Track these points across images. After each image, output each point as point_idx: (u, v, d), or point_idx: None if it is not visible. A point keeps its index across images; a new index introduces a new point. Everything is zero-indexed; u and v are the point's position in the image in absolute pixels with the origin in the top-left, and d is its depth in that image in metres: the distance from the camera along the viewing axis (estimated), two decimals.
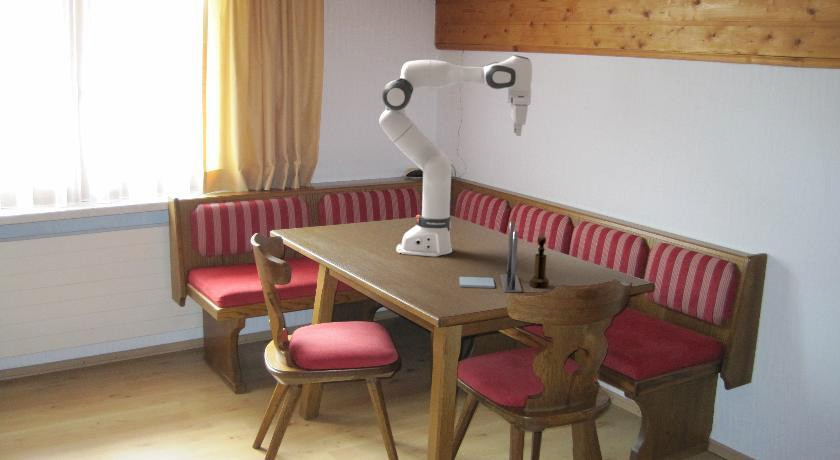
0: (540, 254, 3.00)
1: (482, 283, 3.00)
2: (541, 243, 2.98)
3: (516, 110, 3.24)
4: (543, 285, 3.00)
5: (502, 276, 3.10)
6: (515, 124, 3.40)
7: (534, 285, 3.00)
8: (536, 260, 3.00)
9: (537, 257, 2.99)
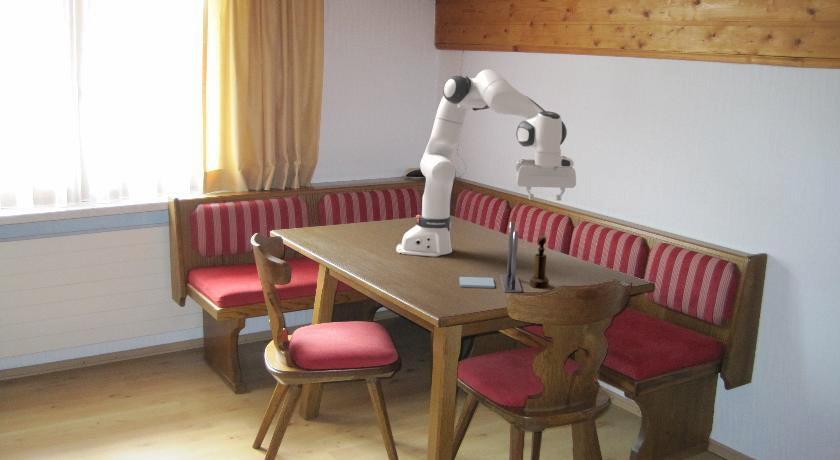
0: (540, 254, 3.00)
1: (482, 283, 3.00)
2: (541, 243, 2.98)
3: None
4: (543, 285, 3.00)
5: (502, 276, 3.10)
6: None
7: (534, 285, 3.00)
8: (536, 260, 3.00)
9: (537, 257, 2.99)
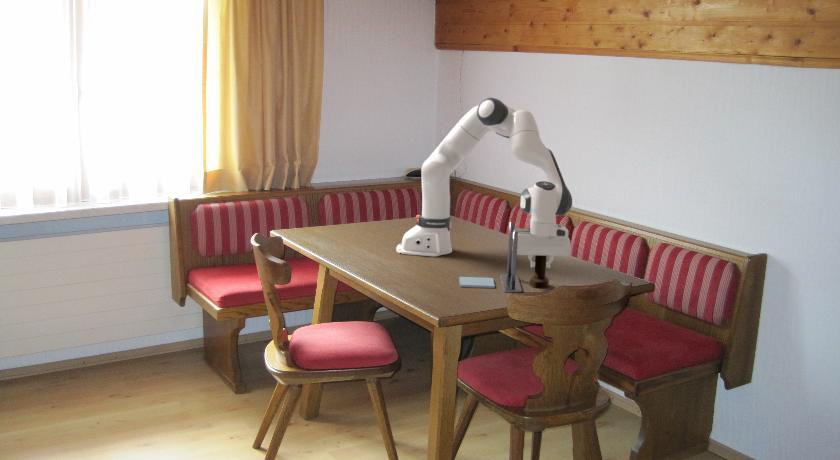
0: None
1: (482, 283, 3.00)
2: None
3: None
4: (543, 285, 3.00)
5: (502, 276, 3.10)
6: (530, 258, 3.00)
7: (534, 285, 3.00)
8: (536, 260, 3.00)
9: (537, 257, 2.99)
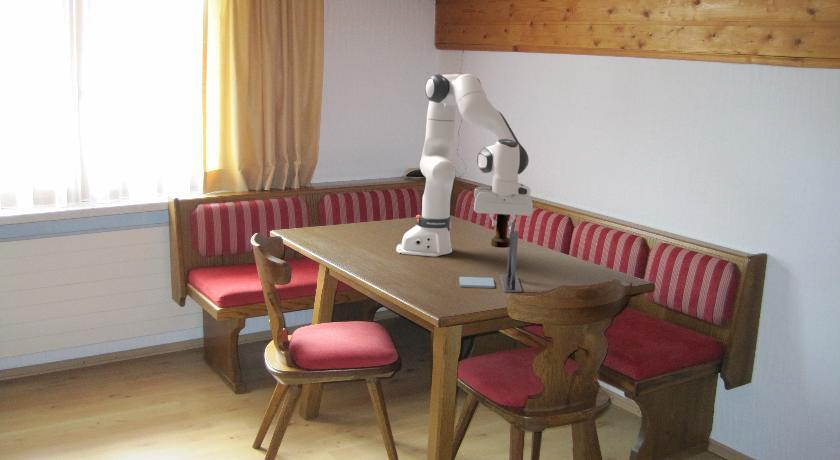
0: None
1: (482, 283, 3.00)
2: None
3: None
4: (504, 245, 2.97)
5: (502, 276, 3.10)
6: None
7: (495, 245, 2.97)
8: (498, 219, 2.97)
9: (499, 216, 2.96)
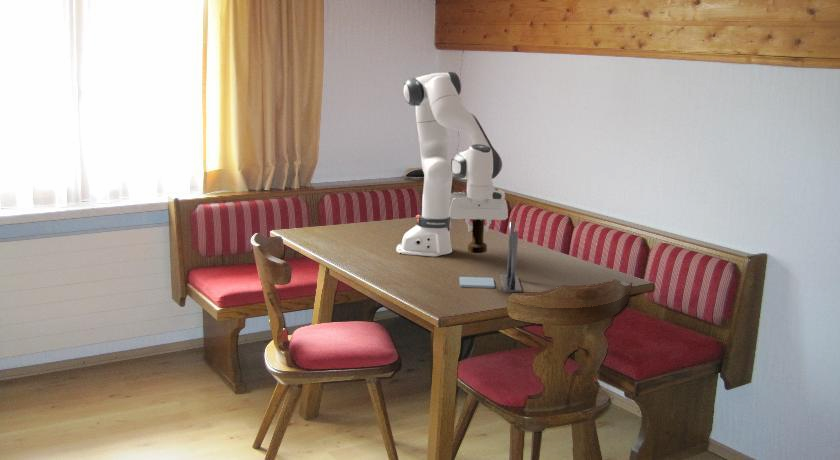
0: (477, 219, 2.97)
1: (482, 283, 3.00)
2: None
3: (506, 204, 2.95)
4: (480, 250, 2.97)
5: (502, 276, 3.10)
6: None
7: (471, 250, 2.98)
8: (473, 225, 2.97)
9: (474, 222, 2.97)
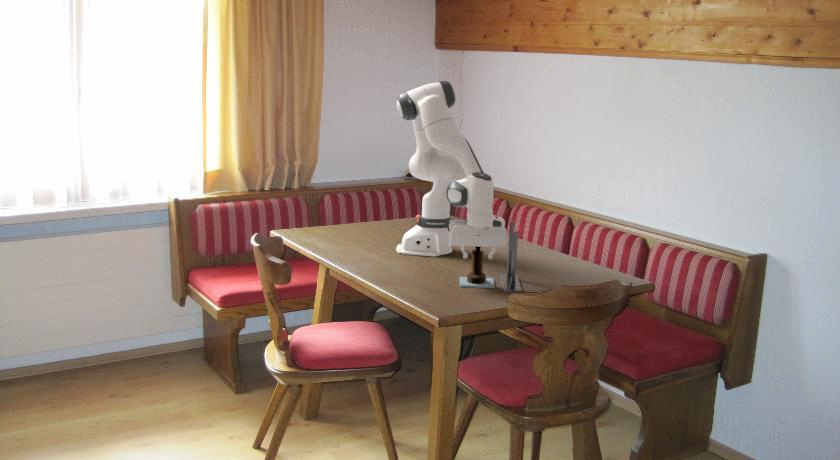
0: (477, 250, 3.00)
1: (482, 283, 3.00)
2: None
3: (506, 232, 2.97)
4: (480, 280, 3.00)
5: (502, 276, 3.10)
6: (463, 249, 3.00)
7: (471, 281, 3.00)
8: (473, 256, 3.00)
9: (474, 253, 2.99)
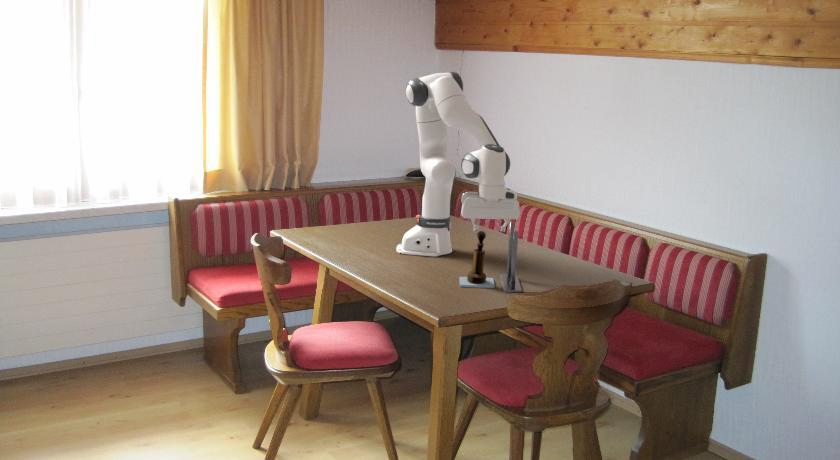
0: (479, 249, 3.00)
1: (482, 283, 3.00)
2: (480, 238, 2.98)
3: (518, 204, 2.97)
4: (480, 280, 3.00)
5: (502, 276, 3.10)
6: (473, 221, 2.99)
7: (471, 280, 3.00)
8: (474, 255, 3.00)
9: (475, 252, 2.99)
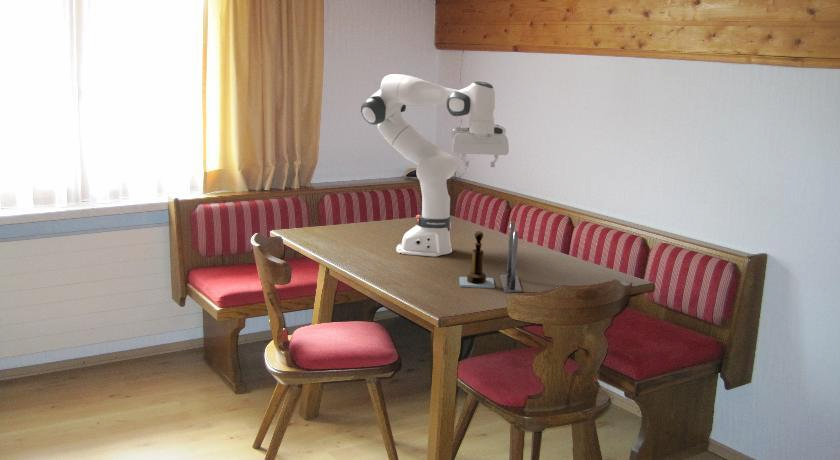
0: (477, 249, 3.00)
1: (482, 283, 3.00)
2: (478, 238, 2.99)
3: (507, 140, 3.06)
4: (480, 280, 3.00)
5: (502, 276, 3.10)
6: (464, 157, 3.09)
7: (471, 280, 3.00)
8: (473, 255, 3.00)
9: (474, 252, 2.99)
